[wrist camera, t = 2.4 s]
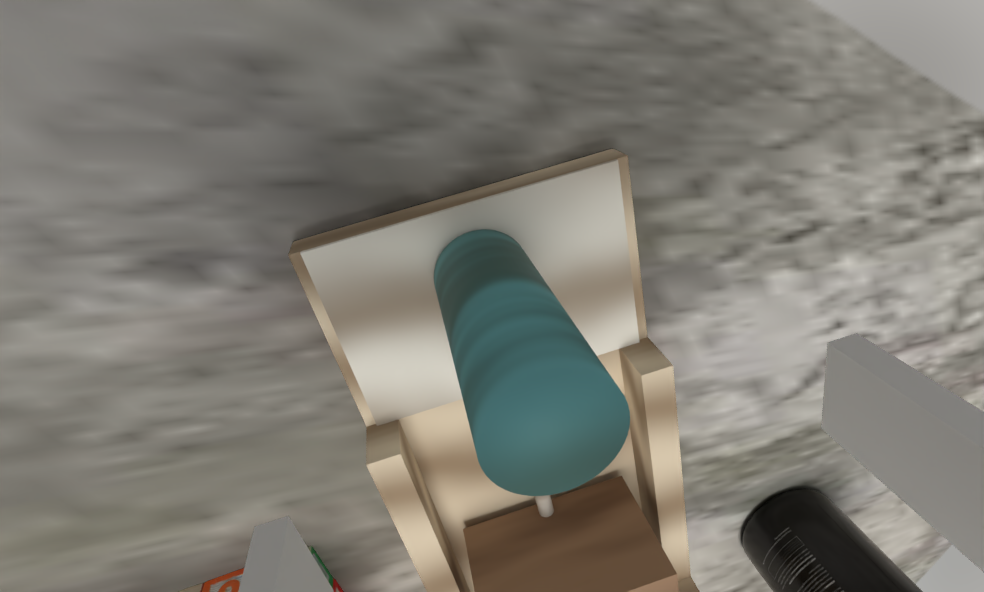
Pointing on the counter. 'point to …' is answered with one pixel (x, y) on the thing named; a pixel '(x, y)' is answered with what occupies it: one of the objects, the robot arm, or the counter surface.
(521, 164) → the counter surface
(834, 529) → the supplement bottle
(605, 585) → the brown teal long piece
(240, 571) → the stack of blocks
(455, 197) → the lane board
